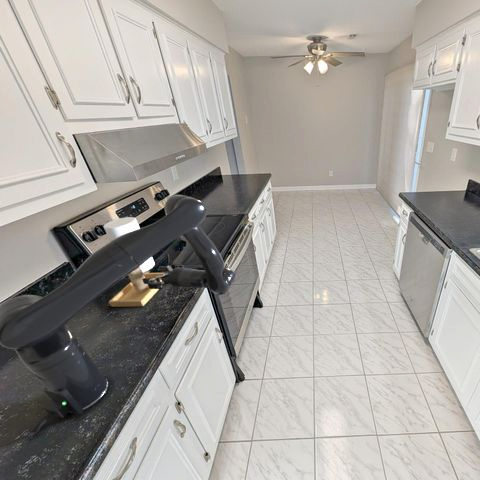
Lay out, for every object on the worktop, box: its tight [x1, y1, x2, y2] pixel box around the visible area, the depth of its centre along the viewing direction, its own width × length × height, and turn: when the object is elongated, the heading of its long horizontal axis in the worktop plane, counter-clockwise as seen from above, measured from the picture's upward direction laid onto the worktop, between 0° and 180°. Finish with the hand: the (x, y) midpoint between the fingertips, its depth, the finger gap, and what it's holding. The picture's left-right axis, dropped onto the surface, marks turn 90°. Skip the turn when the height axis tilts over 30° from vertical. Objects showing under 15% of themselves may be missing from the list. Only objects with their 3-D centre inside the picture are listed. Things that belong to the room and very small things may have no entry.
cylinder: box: [103, 216, 156, 273], centre depth 122 cm, size 12×12×25 cm
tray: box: [108, 272, 165, 308], centre depth 110 cm, size 20×14×3 cm
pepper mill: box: [127, 266, 149, 293], centre depth 108 cm, size 5×5×12 cm
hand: (152, 274), depth 104 cm, fingers open, 8 cm apart
